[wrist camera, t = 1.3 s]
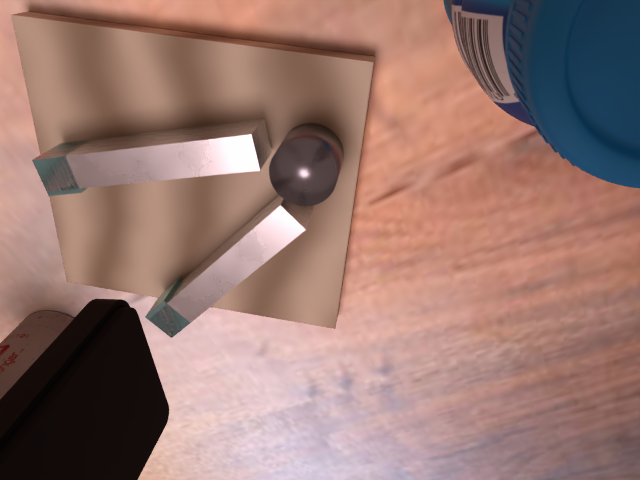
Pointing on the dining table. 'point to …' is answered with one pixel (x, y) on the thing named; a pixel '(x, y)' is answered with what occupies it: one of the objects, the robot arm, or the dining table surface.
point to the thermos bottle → (28, 344)
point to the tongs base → (200, 159)
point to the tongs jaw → (229, 264)
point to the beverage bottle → (562, 74)
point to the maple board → (196, 192)
